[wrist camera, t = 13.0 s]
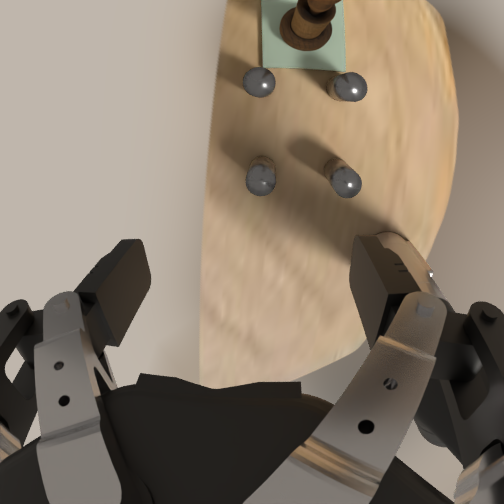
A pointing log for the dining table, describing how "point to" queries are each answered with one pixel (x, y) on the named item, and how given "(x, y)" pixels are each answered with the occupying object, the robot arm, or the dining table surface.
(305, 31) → the wooden pepper mill
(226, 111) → the dining table surface
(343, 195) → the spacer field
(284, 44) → the green mat
